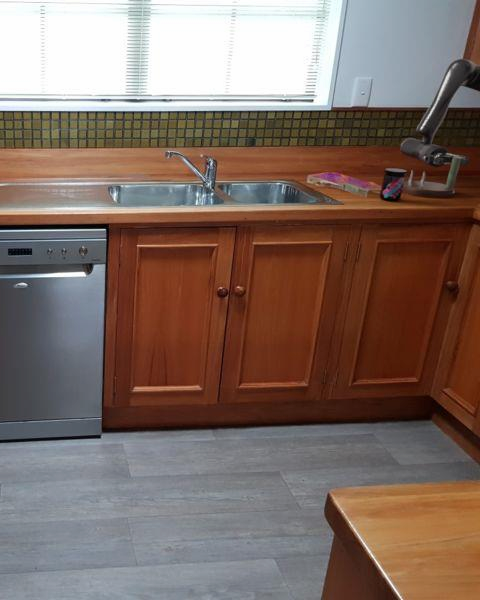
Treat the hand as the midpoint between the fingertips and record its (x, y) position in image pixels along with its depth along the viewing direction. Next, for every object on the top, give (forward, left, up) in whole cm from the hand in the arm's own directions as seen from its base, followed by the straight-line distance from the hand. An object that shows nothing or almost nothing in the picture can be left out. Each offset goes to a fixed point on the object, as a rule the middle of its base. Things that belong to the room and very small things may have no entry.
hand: (454, 162), depth 220 cm
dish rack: (+7, +1, -10) cm, 12 cm away
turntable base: (+7, +1, -12) cm, 13 cm away
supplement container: (+19, +21, -12) cm, 30 cm away
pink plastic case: (+34, +9, -12) cm, 37 cm away
